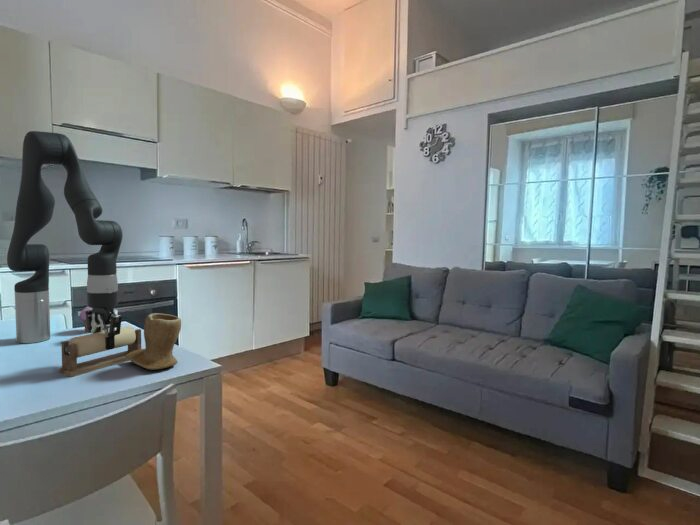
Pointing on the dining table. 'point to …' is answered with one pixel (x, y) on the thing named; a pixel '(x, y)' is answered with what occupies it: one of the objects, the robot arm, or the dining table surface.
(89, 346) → the cylinder
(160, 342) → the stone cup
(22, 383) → the dining table surface
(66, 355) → the roll stand
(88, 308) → the cupcake
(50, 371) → the dining table surface
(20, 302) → the robot arm
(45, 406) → the dining table surface
